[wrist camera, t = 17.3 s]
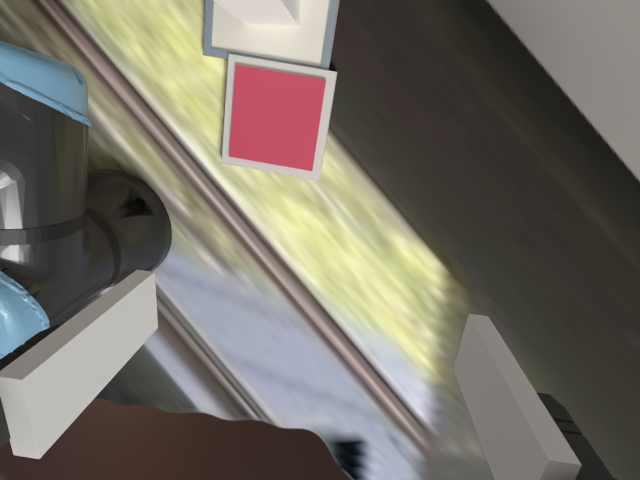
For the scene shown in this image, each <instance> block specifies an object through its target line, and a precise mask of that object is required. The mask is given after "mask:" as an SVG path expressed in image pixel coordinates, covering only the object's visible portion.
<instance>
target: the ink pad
mask: <svg viewBox="0 0 640 480" xmlns="http://www.w3.org/2000/svg"><path fill="white" fill-rule="evenodd" d="M336 78H337V72H334V71H328V70H322V69H317V68H311V67H305V66H299V65H293V64H287V63H281V62H275V61H269V60H263V59H257V58H251V57H245V56H239V55H233V54H229V57H228V73H227V88H226V103H225V118H224V134H223V149H222V163H223V164H229V165H234V166H240V167H246V168H251V169H257V170H263V171H268V172H274V173H280V174H285V175H291V176H297V177H302V178H308V179H314V180H319V181H320V178H321V172H322V166H323V159H324V153H325V147H326V141H327V134H328V128H329V122H330V116H331V109H332V103H333V97H334V91H335V85H336Z"/></svg>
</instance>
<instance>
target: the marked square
mask: <svg viewBox="0 0 640 480" xmlns="http://www.w3.org/2000/svg"><path fill="white" fill-rule="evenodd" d="M338 6H339V0H300V15H299V27H290V26H271V25H252V24H244V23H243V22H242V21H240V20H239V19H238V18H236V17H235V16H234V15H232V14H231V13H230V12H228V11H227V10H226V9H224V8H223V7H222V6H220V5H219V4H218V3H216V2H215V1H214V0H206V3H205V25H204V48H203V55H205V56H210V57H216V58H222V59H228V57H229V54H233V55H239V56H245V57H251V58H257V59H263V60H269V61H275V62H281V63H287V64H293V65H299V66H305V67H311V68H317V69H322V70H328V71H329V65H330V58H331V52H332V45H333V39H334V32H335V26H336V19H337V13H338Z"/></svg>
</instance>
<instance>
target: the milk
mask: <svg viewBox="0 0 640 480" xmlns="http://www.w3.org/2000/svg"><path fill="white" fill-rule="evenodd" d="M214 1H215V2H216V3H218V4H219V5H220V6H222V7H223V8H224V9H226V10H227V11H228V12H230V13H231V14H232V15H234V16H235V17H236V18H238V19H239V20H240V21H242V22H243V23H244V24H252V25H271V26H290V27H299V15H300V0H214Z"/></svg>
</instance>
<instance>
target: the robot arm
mask: <svg viewBox="0 0 640 480" xmlns="http://www.w3.org/2000/svg"><path fill="white" fill-rule="evenodd" d="M89 127H91V121H90V120H89V118H88V93H87V84H86V81H85V79H84V77H83V76H82V74H81V73H80V72H79V71H78V70H77V69H76V68H75V67H73V66H72V65H70V64H69V63H66V62H64V61H61V60H58V59H55V58H52V57H49V56H46V55H43V54H40V53H37V52H34V51H31V50H28V49H24V48H21V47H18V46H15V45H12V44H9V43H6V42H3V41H0V448H1V447H2V446H3V445H4V444H5V443H6V442H7V441H8V440H9V439H10V443H11V446H12V450H13V454H14V455H18V456H24V457H30V458H36V459H40V458H41V457H42V456H43V454H45V452H46V451H47V450H48V449H49V448H50V447H51V446H52V445H53V444H54V442H55V441H56V440H57V439H58V438H59V437H60V436H61V435H62V434H63V432H64V431H65V430H66V429H67V428H68V427H69V426H70V425H71V423H72V422H73V421H74V420H75V419H76V418H77V417H78V416H79V415H80V413H81V412H82V411H83V410H84V409H85V408H86V407H87V406H88V405H89V404H90V402H91V401H92V400H93V399H94V398H95V397H96V396H97V395H98V394H99V392H100V391H101V390H102V389H103V388H104V387H105V386H106V385H107V384H108V382H109V381H110V380H111V379H112V378H113V377H114V376H115V375H116V374H117V372H118V371H119V370H120V369H121V368H122V367H123V366H124V365H125V364H126V363H127V361H128V360H129V359H130V358H131V357H132V356H133V355H134V354H135V353H136V351H137V350H138V349H139V348H140V347H141V346H142V345H143V344H144V343H145V341H146V340H147V339H148V338H149V337H150V336H151V335H152V334H153V333H154V331H155V330H156V329H157V328H158V320H157V303H156V286H155V272H152V271H153V270H154V269H156V268H157V267H158V266H159V265H160V264H161V263H162V262H163V261H164V259H165V258H166V256H167V254H168V252H169V249H170V245H171V239H172V231H171V224H170V220H169V216H168V214H167V211H166V209H165V207H164V205H163V204H162V202H161V201H160V199H159V198H158V196H157V195H156V194H155V193H154V192H153V191H152V190H151V189H150V188H149V187H148V186H147V185H146V184H145V183H143V182H142V181H140V180H139V179H137V178H135V177H134V176H132V175H129V174H127V173H124V172H121V171H117V170H110V169H101V170H94V171H90V172H88V152H89ZM112 286H114V287H113V288H112V289H110V290H109V291H108V292H106V293H105V294H104V295H102V296H101V297H99V298H98V299H97V300H95V301H94V302H93V303H91V304H90V305H89V306H87V307H86V308H85V309H83V310H82V311H81V312H79V313H78V314H77V315H75V316H74V317H72V318H71V319H70V320H68V321H67V322H66V323H64V324H63V325H62V326H60V325H58V324H60V323H61V322H62V321H64V320H65V319H66V318H68V317H69V316H70V315H72V314H73V313H74V312H76V311H77V310H78V309H80V308H81V307H82V306H83V305H85V304H86V303H87V302H89V301H90V300H91V299H93V298H94V297H95V296H97V295H98V294H99V293H101V292H102V291H103V290H105V289H106V288H108V287H112ZM1 358H2V359H1ZM454 372H455V374H456V377H457V380H458V382H459V385H460V388H461V390H462V393H463V396H464V398H465V401H466V404H467V407H468V409H469V412H470V415H471V417H472V420H473V423H474V425H475V428H476V431H477V433H478V436H479V439H480V442H481V444H482V447H483V450H484V452H485V455H486V458H487V460H488V463H489V466H490V468H491V471H492V474H493V477H494V479H495V480H617V479H614V478H613V477H612V475H611V474H610V472H609V471H608V469H607V468H606V467H605V465H604V464H603V462H602V461H601V459H600V458H599V456H598V455H597V454H596V452H595V451H594V449H593V448H592V446H591V445H590V443H589V442H588V441H587V439H586V438H585V436H583V435H582V432H581V430H580V429H579V428H578V426H577V425H576V424H574V420H573V419H572V418H571V416H570V415H569V413H568V412H567V410H566V409H565V407H563V406H562V405H561V404H560V403H559V402H558V401H557V400H555V399H554V398H553V397H552V396H551V395H549V394H542V393H536V392H535V390H534V388H533V387H532V385H531V384H530V382H529V380H528V379H527V377H526V376H525V374H524V373H523V371H522V369H521V368H520V366H519V365H518V363H517V361H516V360H515V358H514V357H513V355H512V353H511V352H510V350H509V349H508V347H507V346H506V344H505V342H504V341H503V339H502V338H501V336H500V334H499V333H498V331H497V330H496V328H495V326H494V325H493V323H492V322H491V320H490V319H489V317H488V316H482V315H474V314H469V315H468V319H467V323H466V326H465V330H464V334H463V337H462V341H461V344H460V348H459V352H458V355H457V359H456V363H455V366H454Z"/></svg>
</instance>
